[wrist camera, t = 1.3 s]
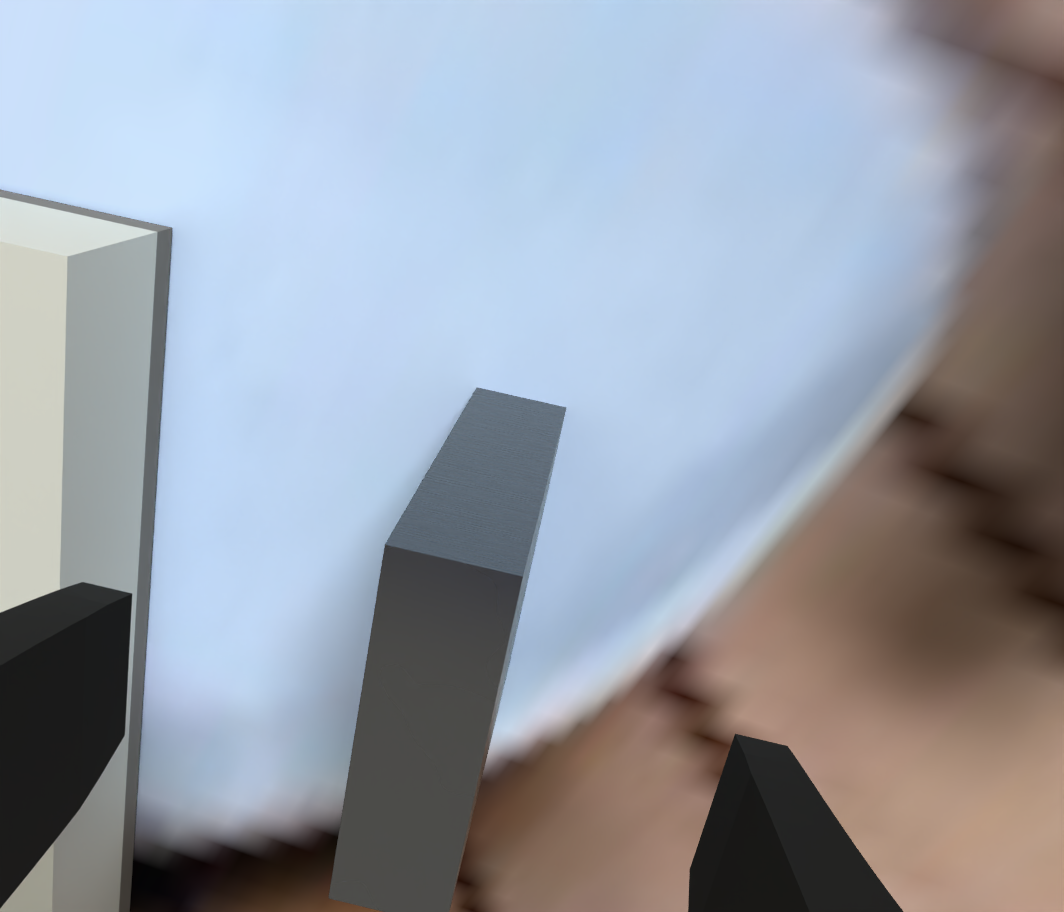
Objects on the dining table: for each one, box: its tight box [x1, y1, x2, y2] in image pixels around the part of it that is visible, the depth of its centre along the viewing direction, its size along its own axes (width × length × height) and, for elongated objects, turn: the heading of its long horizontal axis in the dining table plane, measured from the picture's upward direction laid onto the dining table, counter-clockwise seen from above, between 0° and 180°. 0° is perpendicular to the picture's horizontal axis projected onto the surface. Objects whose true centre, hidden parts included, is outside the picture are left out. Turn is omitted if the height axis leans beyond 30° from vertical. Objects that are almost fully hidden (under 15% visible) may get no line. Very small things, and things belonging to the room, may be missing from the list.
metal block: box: [329, 388, 566, 912], centre depth 14 cm, size 5×2×6 cm, turn 169°
